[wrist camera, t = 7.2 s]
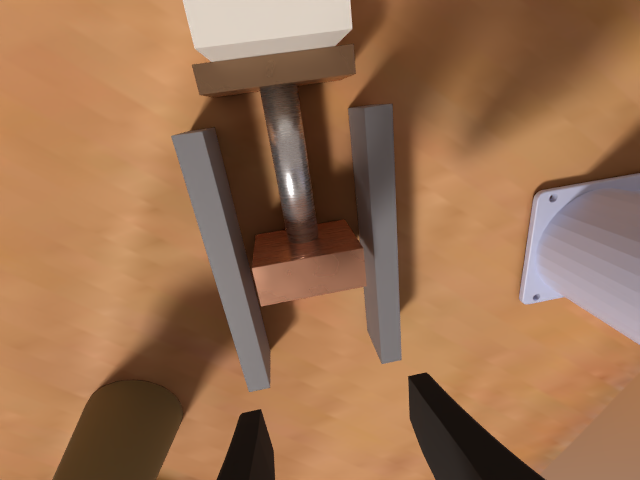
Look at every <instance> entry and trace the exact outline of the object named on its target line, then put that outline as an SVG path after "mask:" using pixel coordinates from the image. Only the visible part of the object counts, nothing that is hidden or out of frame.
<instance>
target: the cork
mask: <svg viewBox="0 0 640 480" xmlns="http://www.w3.org/2000/svg"><path fill="white" fill-rule="evenodd" d="M182 416H183V411H182V406H181V403H180V402H179V400H178V399H177V398H176V396H175V395H174V394H173V393H171V392H170V391H168V390H167V389H166V388H164V387H162V386H160V385H157V384H154V383H151V382H147V381H139V380H126V381H117V382H114V383H111V384H108V385H106V386H103V387H102V388H100V389H99V390H97V391H96V392H95V393H93V394H92V396H91V397H90V399H89V400H88V402H87V404H86V406H85V408H84V410H83V412H82V415H81V417H80V419H79V421H78V424H77V426H76V428H75V430H74V432H73V435H72V437H71V439H70V441H69V444H68V446H67V448H66V450H65V453H64V455H63V457H62V459H61V462H60V464H59V466H58V468H57V471H56V473H55V475H54V477H53V479H52V480H156V478H157V476H158V474H159V471H160V469H161V467H162V465H163V462H164V460H165V458H166V456H167V453H168V451H169V449H170V447H171V444H172V442H173V440H174V438H175V435H176V433H177V431H178V429H179V426H180V424H181V420H182Z"/></svg>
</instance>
